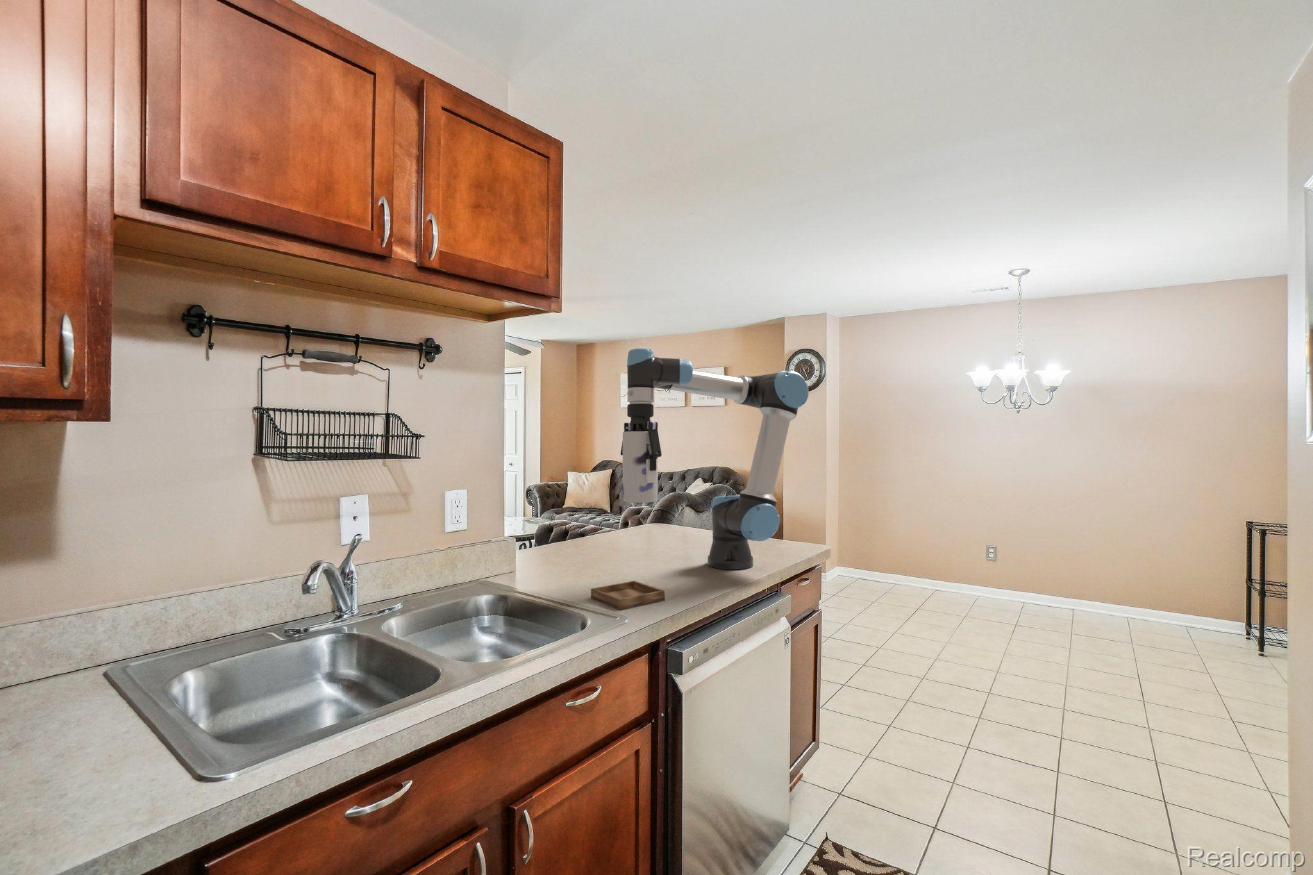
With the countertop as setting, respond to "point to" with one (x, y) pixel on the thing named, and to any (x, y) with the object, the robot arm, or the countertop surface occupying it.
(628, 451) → the container
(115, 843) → the countertop surface
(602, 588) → the stand
